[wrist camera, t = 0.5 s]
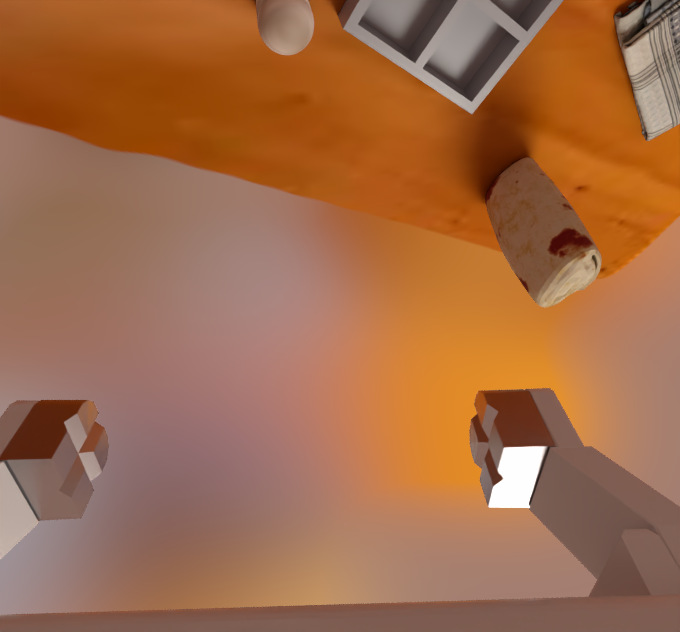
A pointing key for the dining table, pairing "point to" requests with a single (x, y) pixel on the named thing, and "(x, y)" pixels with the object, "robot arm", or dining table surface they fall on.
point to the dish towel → (653, 61)
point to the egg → (285, 24)
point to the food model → (541, 234)
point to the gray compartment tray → (449, 39)
